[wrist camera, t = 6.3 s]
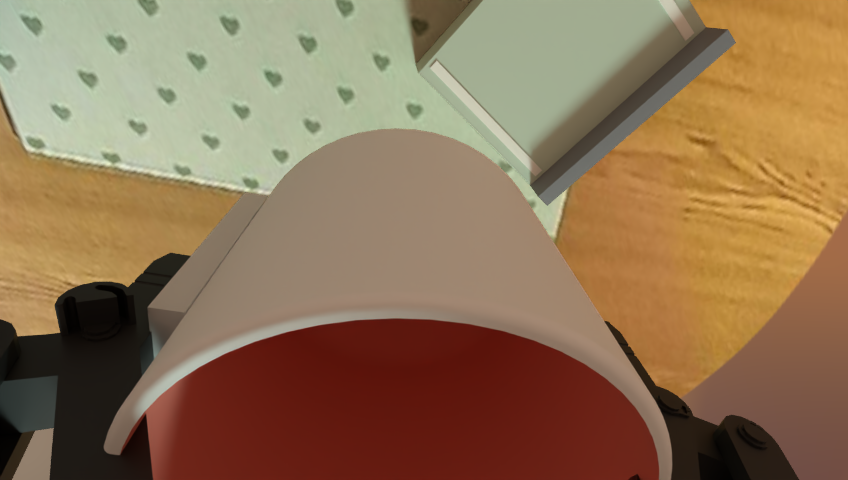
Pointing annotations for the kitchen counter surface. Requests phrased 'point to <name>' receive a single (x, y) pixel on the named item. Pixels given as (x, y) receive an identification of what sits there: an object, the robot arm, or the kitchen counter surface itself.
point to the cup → (395, 338)
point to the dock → (566, 76)
